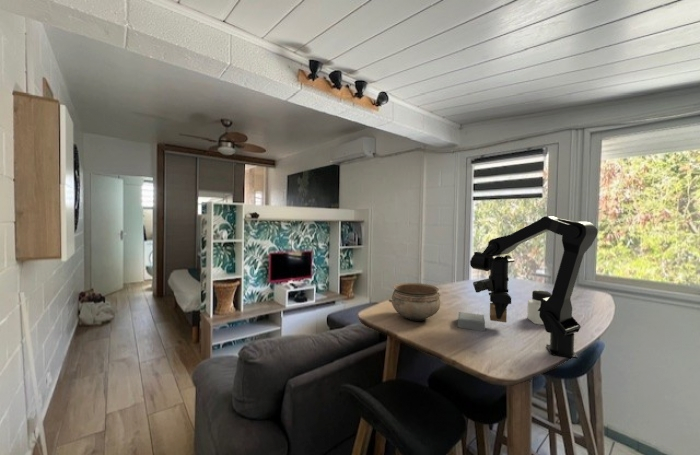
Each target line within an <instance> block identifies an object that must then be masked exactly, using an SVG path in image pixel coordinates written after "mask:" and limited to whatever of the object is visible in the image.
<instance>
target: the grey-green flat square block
mask: <svg viewBox="0 0 700 455" xmlns="http://www.w3.org/2000/svg"><path fill="white" fill-rule="evenodd" d="M485 320H486V319H485V314H479V313H472V312H471V313H469V312H462V311H458V316H457V328H459V329H467V330H473V331H481V332H486V331H485V330H486V321H485Z"/></svg>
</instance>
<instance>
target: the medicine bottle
mask: <svg viewBox="0 0 700 455" xmlns="http://www.w3.org/2000/svg"><path fill="white" fill-rule="evenodd" d="M531 292H532V293H531V294H532V295H531V299H532V300H527V310H526V312H527V316H526V317H527V319H528V320H529V321H530V322H532V323H533V324H534V325H541V326H542V325H543V326H544V323H543V321H542V320H541V318H540V316H539V314H540V311H538V309H539V308H540V305H541V300H542V299H543V298H548V297H550V296H551V294H552V292H549V291H547V290H543V289H535V290H533V291H531Z"/></svg>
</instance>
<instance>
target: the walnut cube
mask: <svg viewBox="0 0 700 455" xmlns="http://www.w3.org/2000/svg"><path fill="white" fill-rule="evenodd" d="M507 309H508V307H507V308H506V309H505V311H504V313H503V315H502V317H501V319H497V316H496V311H495V305H494V304H493V303H492V302H490V303H489V318H490V321H492V322H499V323H507V311H508V310H507Z"/></svg>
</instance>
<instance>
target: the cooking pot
mask: <svg viewBox="0 0 700 455" xmlns="http://www.w3.org/2000/svg"><path fill="white" fill-rule="evenodd" d="M393 289H394V291H393V293H392V296H391V298H389V299H388V302H389V303H391V305H392V307H393V309H394V311H396V312H397V313H398V314H399V315H401V316H403V317H404V318H406V319H407V318H408V319H407V320H409V319H410V320H409V321H412V320H415V321H414V322H421V321H420V320H422V321H424V320H427V319H428V318H431V317H433V316H434V315H436V314H437V313H438V312H439V310H440V308H441V299H440V297H441V293H440V292H438V291H439V290H440V288H439V287H437V286H435V285H432V284H427V283H421V282H401V283H397V284H394V285H393Z"/></svg>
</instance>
